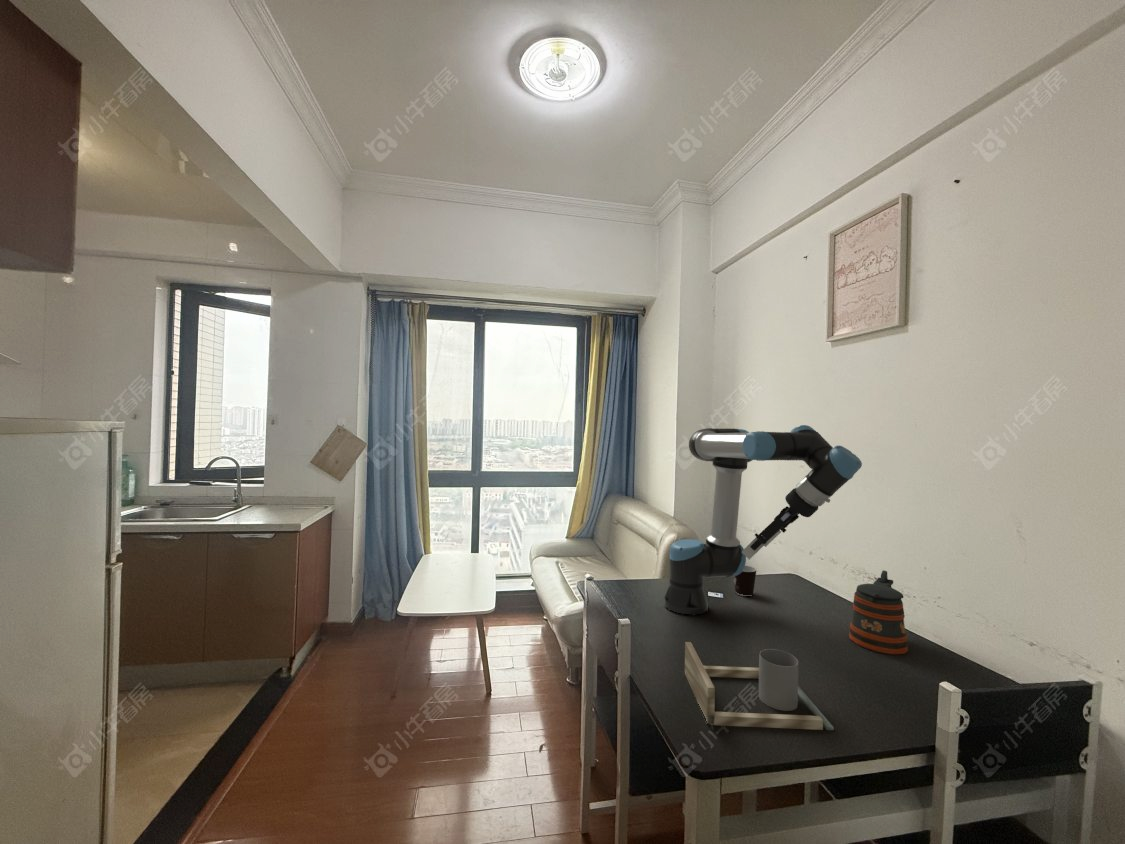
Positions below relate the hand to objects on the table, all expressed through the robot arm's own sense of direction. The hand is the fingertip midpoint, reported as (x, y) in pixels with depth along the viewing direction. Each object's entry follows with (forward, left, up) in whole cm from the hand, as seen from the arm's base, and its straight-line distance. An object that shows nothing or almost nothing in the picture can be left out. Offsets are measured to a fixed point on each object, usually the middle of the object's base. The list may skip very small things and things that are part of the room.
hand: (754, 549), depth 128 cm
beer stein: (+25, +38, -31) cm, 54 cm away
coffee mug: (-20, +50, -31) cm, 62 cm away
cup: (+12, -17, -31) cm, 37 cm away
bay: (+7, -21, -30) cm, 37 cm away
